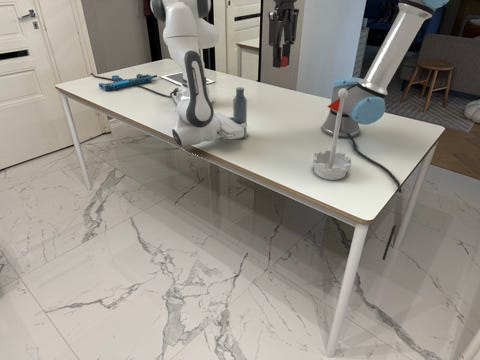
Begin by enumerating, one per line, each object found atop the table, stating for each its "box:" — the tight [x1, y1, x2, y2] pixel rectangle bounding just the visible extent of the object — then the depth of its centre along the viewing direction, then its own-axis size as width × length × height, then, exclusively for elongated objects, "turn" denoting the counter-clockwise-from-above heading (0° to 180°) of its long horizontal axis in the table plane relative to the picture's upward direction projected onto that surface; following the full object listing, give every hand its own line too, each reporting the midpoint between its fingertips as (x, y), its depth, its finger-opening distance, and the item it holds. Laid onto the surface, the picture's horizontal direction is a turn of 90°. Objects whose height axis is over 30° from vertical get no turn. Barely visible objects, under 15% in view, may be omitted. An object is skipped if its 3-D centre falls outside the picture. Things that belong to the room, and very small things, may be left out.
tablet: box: [160, 71, 216, 87], centre depth 213 cm, size 32×20×1 cm, turn 41°
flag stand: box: [312, 88, 352, 181], centre depth 113 cm, size 13×13×30 cm
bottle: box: [232, 86, 248, 140], centre depth 140 cm, size 6×6×21 cm
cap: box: [280, 55, 288, 68], centre depth 115 cm, size 4×4×3 cm
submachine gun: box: [98, 73, 158, 91], centre depth 208 cm, size 34×4×25 cm
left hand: (241, 121), depth 142 cm, fingers closed on bottle, 5 cm apart
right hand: (280, 65), depth 116 cm, fingers closed on cap, 4 cm apart
